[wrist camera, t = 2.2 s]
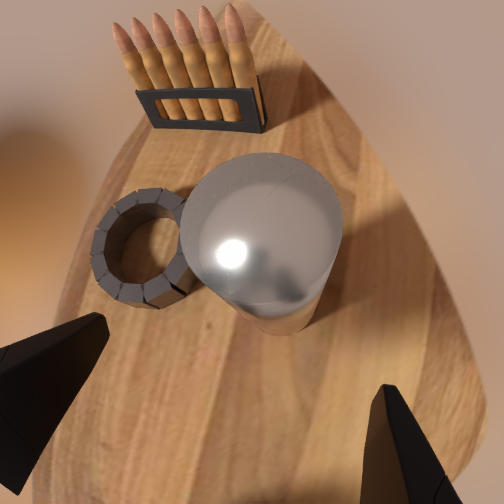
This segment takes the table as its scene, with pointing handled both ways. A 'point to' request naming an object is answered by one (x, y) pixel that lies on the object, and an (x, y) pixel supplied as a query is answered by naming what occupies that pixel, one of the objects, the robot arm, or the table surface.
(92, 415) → the table surface
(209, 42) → the ammunition clip
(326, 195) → the silver tall cylinder
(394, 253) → the table surface
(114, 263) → the ring
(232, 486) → the table surface
